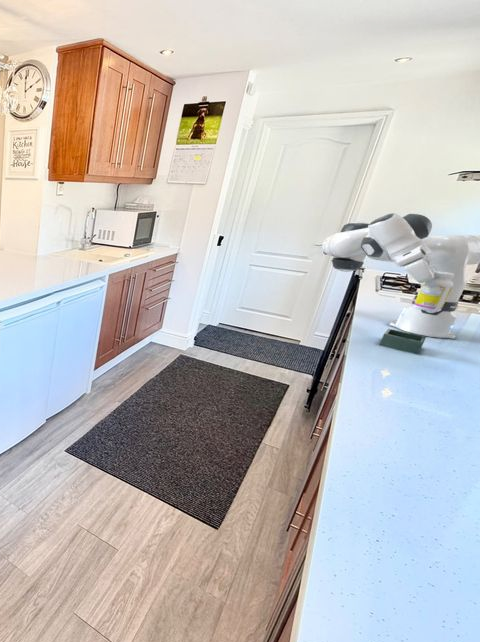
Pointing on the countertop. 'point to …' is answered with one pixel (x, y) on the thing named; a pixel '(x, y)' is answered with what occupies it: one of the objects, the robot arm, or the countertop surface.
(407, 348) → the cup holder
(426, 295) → the supplement bottle
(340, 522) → the countertop surface
